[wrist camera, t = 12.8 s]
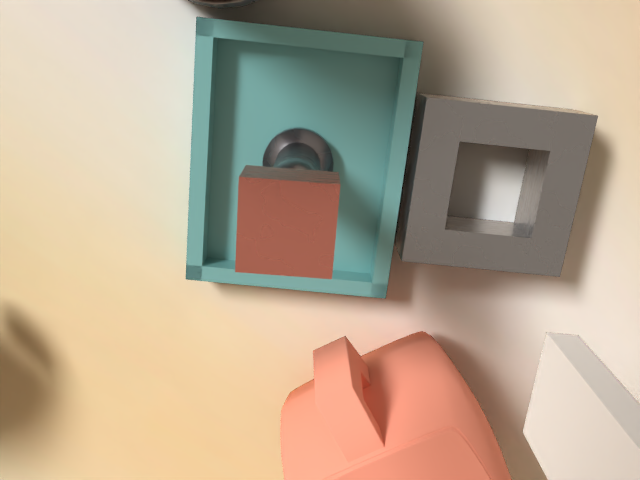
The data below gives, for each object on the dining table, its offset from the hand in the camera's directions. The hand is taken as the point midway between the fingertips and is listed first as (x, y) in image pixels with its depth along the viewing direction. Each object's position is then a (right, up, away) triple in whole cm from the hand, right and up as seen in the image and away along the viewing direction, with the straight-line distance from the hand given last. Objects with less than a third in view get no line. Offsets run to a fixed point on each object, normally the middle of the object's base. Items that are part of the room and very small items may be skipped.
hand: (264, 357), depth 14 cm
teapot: (+7, -11, +32) cm, 34 cm away
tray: (0, +8, +25) cm, 27 cm away
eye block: (+12, +7, +26) cm, 29 cm away
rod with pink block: (0, +8, +25) cm, 26 cm away
